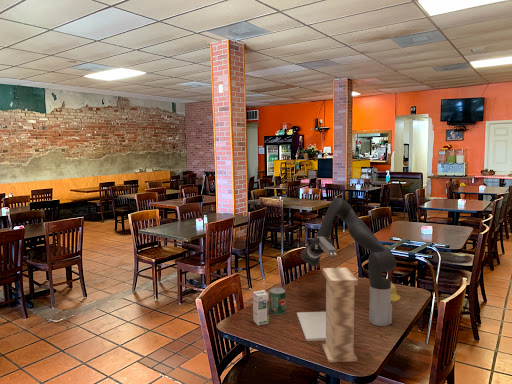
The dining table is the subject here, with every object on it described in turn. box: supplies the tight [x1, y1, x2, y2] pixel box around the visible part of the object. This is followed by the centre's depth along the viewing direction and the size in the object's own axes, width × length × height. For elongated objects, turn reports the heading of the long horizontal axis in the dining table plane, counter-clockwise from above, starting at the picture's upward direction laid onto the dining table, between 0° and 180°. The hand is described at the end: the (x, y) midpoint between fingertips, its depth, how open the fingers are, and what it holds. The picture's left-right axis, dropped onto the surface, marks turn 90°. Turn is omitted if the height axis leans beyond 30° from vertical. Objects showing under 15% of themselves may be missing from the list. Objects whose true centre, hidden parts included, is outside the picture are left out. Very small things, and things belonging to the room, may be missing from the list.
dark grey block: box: [317, 237, 337, 258], centre depth 166 cm, size 3×26×3 cm, turn 3°
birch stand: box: [321, 267, 359, 363], centre depth 147 cm, size 11×15×32 cm
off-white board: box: [296, 311, 326, 342], centre depth 171 cm, size 18×26×1 cm
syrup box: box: [252, 289, 270, 326], centre depth 175 cm, size 6×6×14 cm
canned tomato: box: [269, 287, 287, 316], centre depth 187 cm, size 8×8×11 cm
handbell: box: [386, 251, 401, 301], centre depth 202 cm, size 12×12×25 cm
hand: (322, 239), depth 173 cm, fingers closed on dark grey block, 3 cm apart
